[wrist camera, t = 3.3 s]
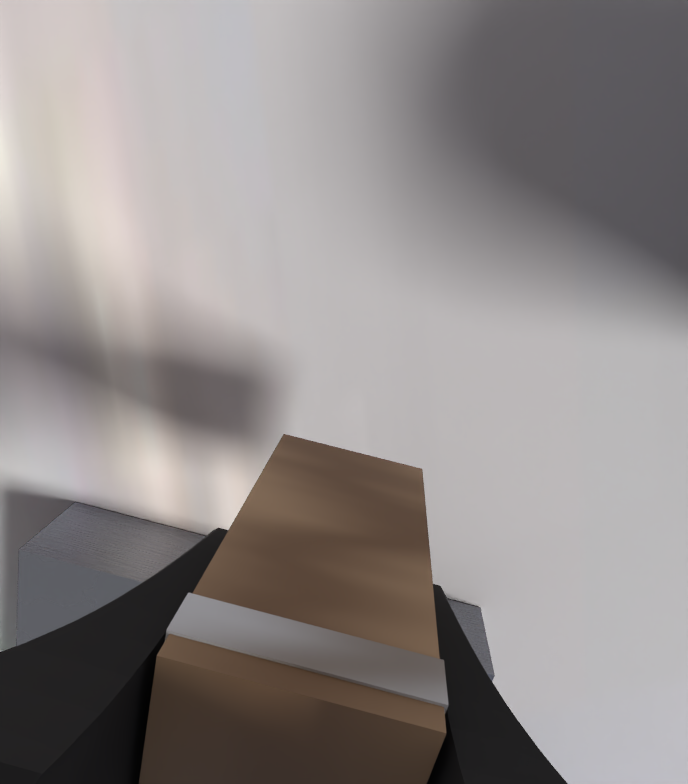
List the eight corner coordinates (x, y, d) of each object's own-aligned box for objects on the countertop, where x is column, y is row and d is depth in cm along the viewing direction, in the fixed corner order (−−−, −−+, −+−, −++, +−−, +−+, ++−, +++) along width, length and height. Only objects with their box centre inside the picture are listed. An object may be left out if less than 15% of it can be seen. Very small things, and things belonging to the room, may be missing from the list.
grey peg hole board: (480, 607, 22) (494, 677, 19) (396, 824, 26) (395, 912, 23) (75, 501, 22) (16, 551, 19) (60, 731, 27) (10, 805, 23)
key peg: (424, 467, 14) (451, 731, 7) (388, 586, 16) (376, 920, 8) (282, 431, 15) (153, 651, 7) (258, 552, 16) (126, 848, 8)
